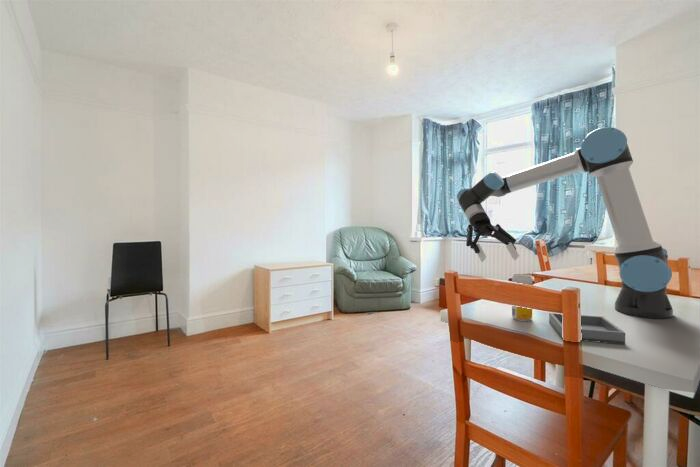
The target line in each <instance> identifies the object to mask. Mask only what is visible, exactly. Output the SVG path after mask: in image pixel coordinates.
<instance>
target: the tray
mask: <svg viewBox="0 0 700 467" xmlns="http://www.w3.org/2000/svg"><path fill="white" fill-rule="evenodd" d="M548 314H549V315H548V321H549V322H548V323H549V324H550V326H551V327H552V328H553V329H554V331H555V332H556V333H557V334H558V335H559V337H560V338H561V339H562V315H561V314H562V313H559V314H557V313H556V312H549V313H548ZM580 315H581V327H582V329H581V333H582V341H583V342H585V341H584V340H588V341H587V342H591V341H600V342H599V343H602V342H607V343H606V344H613V343H617V344H616V345H624V344H625V345H626V332H625V331H624V330H623V329H621V328H619V327H618V326H616V325H615V324H614V323H613V322H611V321H610V320H609V319H607V318H605V317H604V316H600V315H585V314H580Z"/></svg>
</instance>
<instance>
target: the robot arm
mask: <svg viewBox="0 0 700 467" xmlns="http://www.w3.org/2000/svg"><path fill="white" fill-rule="evenodd" d="M633 163H634V159H633V157H632V154H631V151H630V148H629V145H628V138H627V135H626V133H624V131H622V130H621V129H618V128H616V127H612V126H610V127H609V126H603V127H600V128H596V129H594V130H593V131H591V132H589V133H588V134H587V135H586V136H585V137H584V138H583V140H582V141H581V144H580V147H578V148H576V149H575V150H574V152H572V153H569V154H567V155H562V156H561V157H557V158H554V159H551V160H549V161H546V162H543V163H539V164H537V165H533V166H531V167H528V168H526V169H523V170H520V171H517V172H513V173H511V174H508V175H506V176H502V177H501V176H500V175H499V174H498V173H497V172H495V171H490V172H489V173H487V174H486V175H484V177H483V178H482V179H480V180H479V181H478V182H477V183H476V184H475V185H473V186H472V187H464V188H462V189H460V190H459V191H458V192H457V194H456V199H457V201H458V205H459V206H460V207H461V209H462V210H463V213H464V215H465V217H466V219H467V221H468V222H469V224H468V225H467V227H466V234H467V235H466V245H465V246H466V247H469V248H470V249H471V250H473V251H474V253H475V254H477V255H478V258H479V260H480V262H481V263H483V262H484V261H485V260H486V258H487V256H486V253H485V252H484V250H483V248H482V246H481V244H480V243H479V242H478V241H479V240H480V237H491V238H494V239H496V240H497V241H499V242H501V243H503V244H504V245H505V248H506V249H507V251H508V252H509V254H510V256H511V258H512V260H513V261H516V260H517V259H518V258H519V257H520V254H519V252H518V251H517V247H516V246H515V243H516V242H517V239H516V238H515V237H514V236H513V235H511V234H509V232H507V231H506V230H505V229H504V228H502V226H501V225H500V223H496V225H493V224H492V223H491V219H490V217H489V216H488V214H487V212H486V210H485V208H484V207H483V204H482V203H483V202H484V201H486V200H487V199H488V198H490V197H497V198H499V197H504V196H506V195H508V194H511V193H513V192H516V191H519V190H523V189H527V188H529V187H532V186H536V185H539V184H543V183H546V182H549V181H552V180H556V179H559V178H563V177H565V176H569V175H572V174H575V173H578V172H582V173H588V175H590V176H591V177H594V178H595V179H596V181H597V184H598V188H599V190H600V193H601V197H602V199H603V203H604V206H605V209H606V212H607V215H608V218H609V221H610V224H611V227H612V231H613V234H614V237H615V240H616V243H617V245H618V246H617V247H616V249H615V250H614V256H615V259H616V262H617V265H618V269H619V271H618V273H619V277H620V279H621V289H620V291H619V293H618V296H616V300H615V302H614V309H615V310H616V311H617V312H620V313H623V314H627V315H630V316H635V317H641V318H651V319H671V318H673V316H674V309H673V306H672V304H671V302H670V300H669V297H668V294H667V286H668V284H669V283H670V282H671V280H672V277H673V273H672V272H673V271H672V269H671V267H670V266H669V264H668V258H669V255H668V250H667V249H666V248H664V247H663V246H662V244H661V243H658V242H657V241H655V240H653V237H652V233H651V231H650V228H649V225H648V222H647V218H646V216H645V213H644V210H643V207H642V204H641V201H640V198H639V194H638V191H637V190H636V185H635V183H634V179H633V177H632V174H631V171H630V167H631V166H632V165H633ZM473 232H475V233H476V235H475V237H474V239H473Z"/></svg>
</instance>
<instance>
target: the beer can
mask: <svg viewBox="0 0 700 467" xmlns="http://www.w3.org/2000/svg"><path fill="white" fill-rule="evenodd" d="M512 282H517V283H523V284H529V285H532V286H533V278H532V275H531V274H525V273H514V274H513V275H512V278H511V283H512ZM511 316H512V317H513V319H514V320H515V321H519V322H529V321H531V320H532V319H533V308H532V309H527V308H522V307H516V306H512V305H511Z"/></svg>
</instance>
